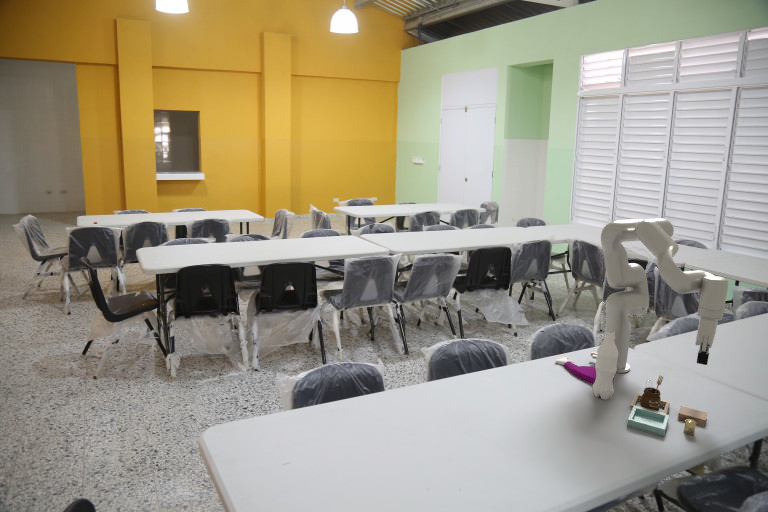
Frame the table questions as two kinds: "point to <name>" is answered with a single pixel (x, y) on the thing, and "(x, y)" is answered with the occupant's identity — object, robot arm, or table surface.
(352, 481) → the table surface
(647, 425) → the tray
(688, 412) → the board
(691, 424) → the cylinder
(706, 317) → the robot arm
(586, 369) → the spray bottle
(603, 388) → the water bottle
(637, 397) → the wooden square frame
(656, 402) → the utensil holder
